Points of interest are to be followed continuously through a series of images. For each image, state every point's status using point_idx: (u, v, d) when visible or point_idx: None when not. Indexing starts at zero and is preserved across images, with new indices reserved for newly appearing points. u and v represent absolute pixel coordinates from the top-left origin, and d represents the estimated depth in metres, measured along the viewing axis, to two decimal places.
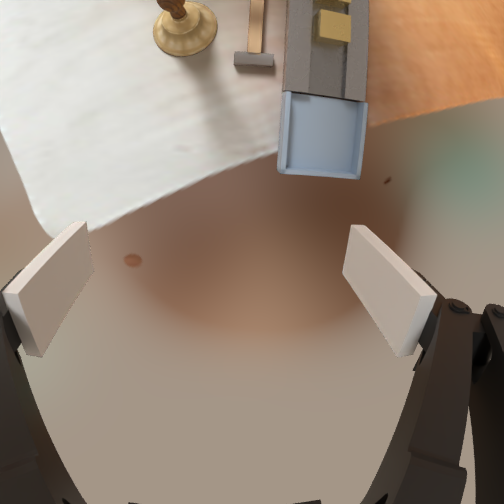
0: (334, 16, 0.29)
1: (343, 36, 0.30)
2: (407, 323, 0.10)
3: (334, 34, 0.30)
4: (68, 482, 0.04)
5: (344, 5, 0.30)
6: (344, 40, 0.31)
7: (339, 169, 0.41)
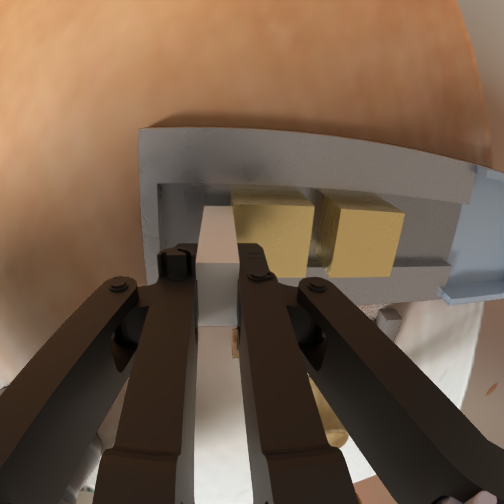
0: (347, 249, 0.17)
1: (392, 229, 0.16)
2: None
3: (387, 248, 0.17)
4: (191, 478, 0.05)
5: None
6: (400, 226, 0.16)
7: None
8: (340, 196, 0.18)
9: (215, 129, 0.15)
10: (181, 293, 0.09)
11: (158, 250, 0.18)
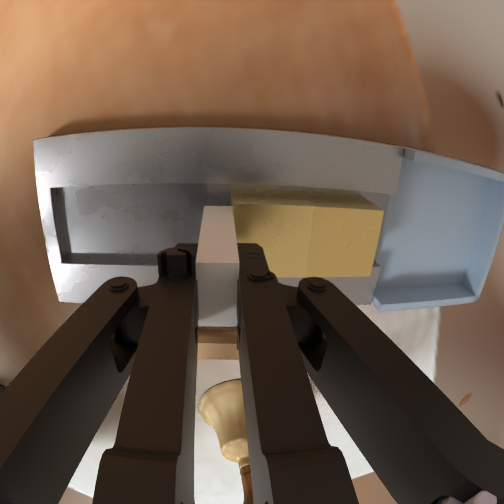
0: (322, 248, 0.16)
1: (370, 226, 0.16)
2: None
3: (366, 247, 0.17)
4: (190, 478, 0.05)
5: None
6: (379, 224, 0.16)
7: (485, 195, 0.20)
8: (317, 194, 0.18)
9: (91, 134, 0.15)
10: (181, 293, 0.09)
11: (57, 249, 0.17)
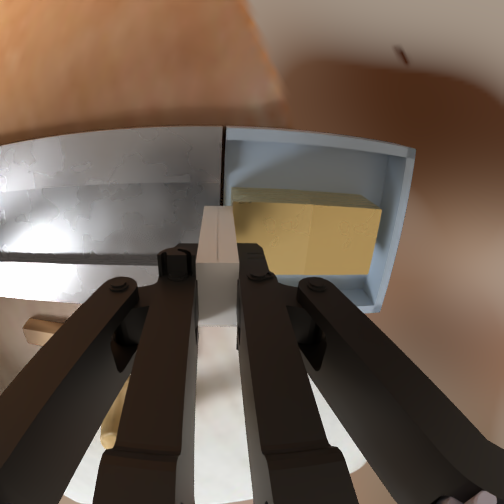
0: (321, 246, 0.17)
1: (369, 225, 0.16)
2: None
3: (364, 245, 0.17)
4: (191, 478, 0.05)
5: None
6: (377, 223, 0.16)
7: (382, 177, 0.18)
8: (316, 193, 0.18)
9: None
10: (181, 293, 0.09)
11: None
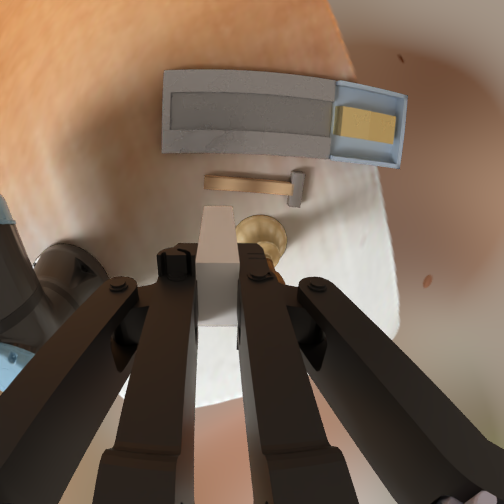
0: (374, 128, 0.37)
1: (391, 122, 0.37)
2: None
3: (390, 130, 0.37)
4: (190, 478, 0.05)
5: None
6: (394, 122, 0.37)
7: (394, 109, 0.39)
8: None
9: (196, 69, 0.34)
10: (181, 293, 0.09)
11: (168, 122, 0.36)
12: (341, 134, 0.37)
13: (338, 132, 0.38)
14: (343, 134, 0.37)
